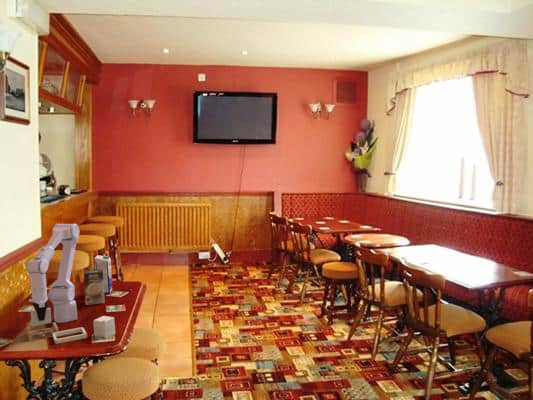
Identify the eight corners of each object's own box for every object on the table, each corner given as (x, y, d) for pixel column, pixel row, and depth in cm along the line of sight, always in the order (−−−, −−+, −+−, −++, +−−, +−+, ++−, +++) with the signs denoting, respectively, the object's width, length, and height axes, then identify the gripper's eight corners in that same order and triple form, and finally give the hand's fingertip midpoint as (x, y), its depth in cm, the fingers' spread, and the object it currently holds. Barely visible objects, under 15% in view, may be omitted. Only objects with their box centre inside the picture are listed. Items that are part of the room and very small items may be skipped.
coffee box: (85, 305, 249) (83, 273, 248) (85, 301, 255) (83, 270, 254) (104, 303, 252) (103, 271, 250) (104, 299, 258) (102, 268, 256)
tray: (83, 332, 213) (82, 327, 212) (87, 339, 205) (86, 333, 205) (52, 338, 207) (52, 332, 206) (55, 345, 199) (55, 340, 199)
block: (51, 321, 214) (50, 307, 213) (51, 322, 212) (50, 308, 211) (31, 325, 210) (30, 311, 209) (32, 326, 208) (30, 312, 208)
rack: (55, 329, 217) (54, 321, 216) (58, 337, 208) (58, 328, 208) (27, 335, 211) (26, 326, 211) (29, 342, 203) (28, 334, 202)
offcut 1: (42, 336, 207) (42, 331, 207) (43, 338, 205) (42, 333, 205) (32, 338, 205) (32, 333, 205) (32, 340, 204) (32, 335, 203)
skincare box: (104, 332, 213) (102, 315, 212) (115, 334, 210) (114, 317, 209) (93, 337, 207) (92, 320, 206) (105, 339, 205) (104, 321, 204)
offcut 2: (54, 334, 210) (54, 329, 209) (55, 335, 208) (55, 331, 207) (44, 335, 208) (44, 331, 208) (45, 337, 206) (44, 332, 206)
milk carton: (99, 291, 274) (97, 254, 272) (112, 290, 275) (110, 254, 272) (96, 294, 267) (94, 257, 265) (109, 294, 268) (107, 257, 265)
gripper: (26, 285, 214) (29, 316, 215) (30, 293, 201) (32, 326, 203) (44, 282, 217) (47, 313, 219) (49, 290, 205) (51, 323, 206)
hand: (41, 319), depth 211 cm, fingers closed on block, 1 cm apart
